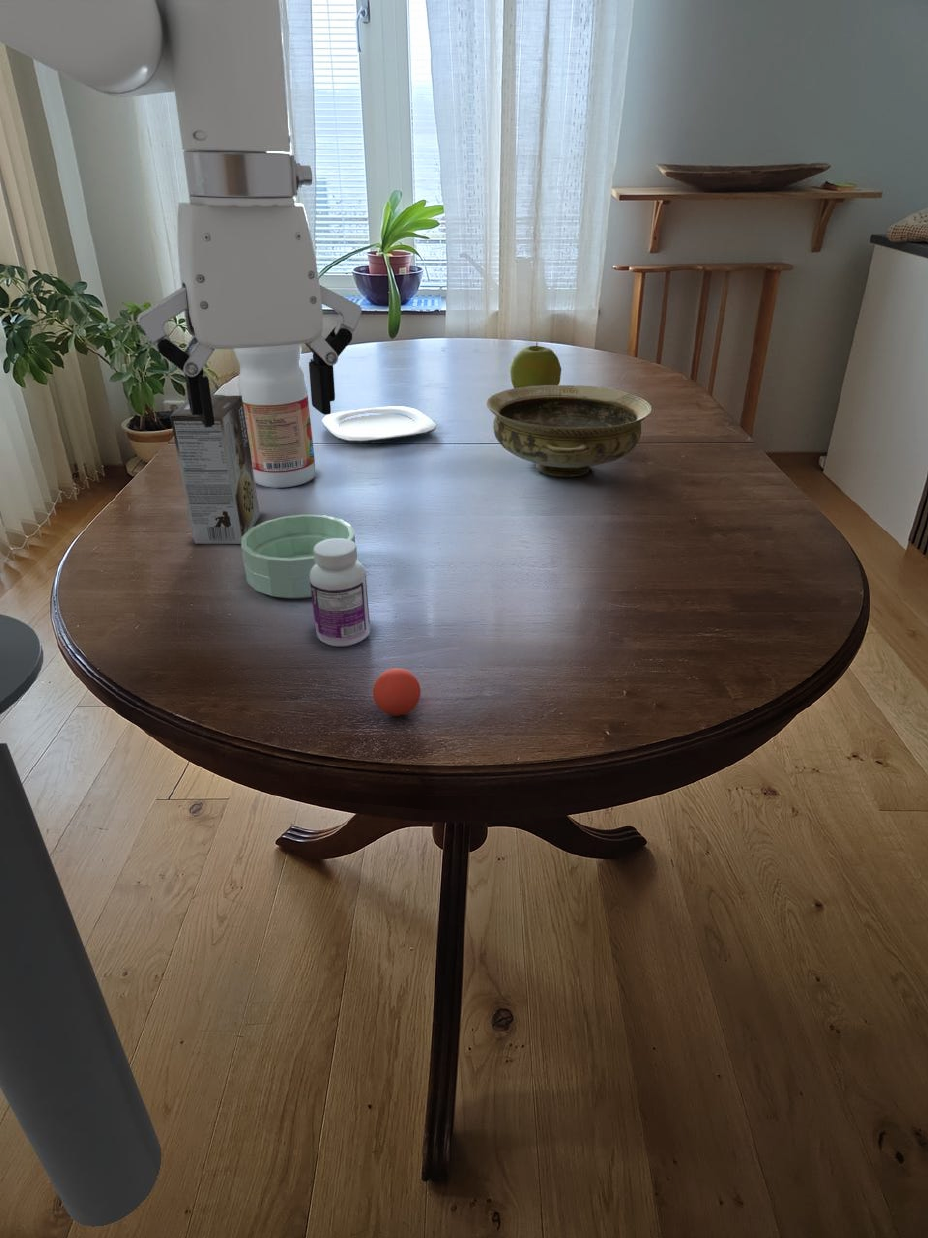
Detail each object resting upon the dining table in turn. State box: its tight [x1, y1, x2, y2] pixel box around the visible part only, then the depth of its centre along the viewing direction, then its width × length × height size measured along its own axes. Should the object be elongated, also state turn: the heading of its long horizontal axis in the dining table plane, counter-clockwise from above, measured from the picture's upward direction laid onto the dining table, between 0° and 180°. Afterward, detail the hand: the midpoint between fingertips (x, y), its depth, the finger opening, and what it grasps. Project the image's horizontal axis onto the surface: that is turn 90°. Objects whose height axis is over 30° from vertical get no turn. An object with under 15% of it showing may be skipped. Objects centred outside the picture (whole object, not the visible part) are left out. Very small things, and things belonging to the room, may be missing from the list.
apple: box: [509, 341, 562, 389], centre depth 151 cm, size 10×10×11 cm
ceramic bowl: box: [486, 384, 653, 478], centre depth 117 cm, size 30×24×10 cm
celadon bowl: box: [240, 513, 356, 599], centre depth 88 cm, size 12×12×5 cm
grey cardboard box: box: [169, 394, 261, 545], centre depth 97 cm, size 9×6×16 cm
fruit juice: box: [233, 344, 316, 489], centre depth 110 cm, size 9×9×28 cm
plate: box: [321, 405, 437, 444], centre depth 137 cm, size 18×18×2 cm
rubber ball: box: [372, 667, 421, 717], centre depth 66 cm, size 4×4×4 cm
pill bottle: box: [309, 538, 371, 647], centre depth 76 cm, size 5×5×10 cm
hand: (265, 416), depth 66 cm, fingers open, 9 cm apart
